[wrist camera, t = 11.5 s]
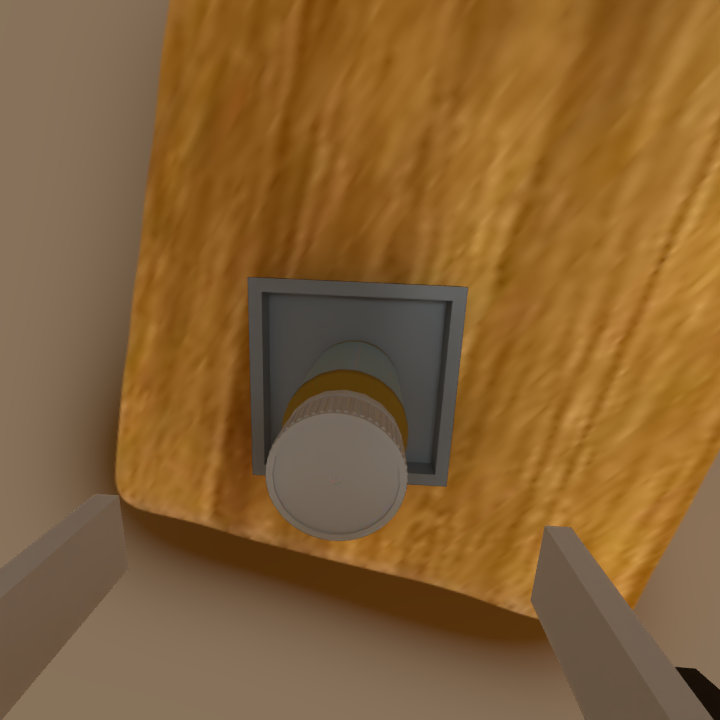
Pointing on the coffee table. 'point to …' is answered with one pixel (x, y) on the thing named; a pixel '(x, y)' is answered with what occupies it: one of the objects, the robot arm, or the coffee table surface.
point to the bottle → (342, 446)
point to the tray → (369, 324)
